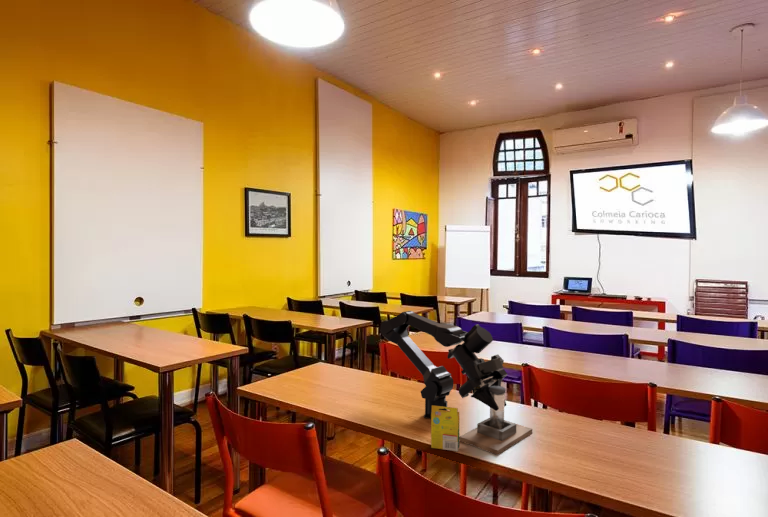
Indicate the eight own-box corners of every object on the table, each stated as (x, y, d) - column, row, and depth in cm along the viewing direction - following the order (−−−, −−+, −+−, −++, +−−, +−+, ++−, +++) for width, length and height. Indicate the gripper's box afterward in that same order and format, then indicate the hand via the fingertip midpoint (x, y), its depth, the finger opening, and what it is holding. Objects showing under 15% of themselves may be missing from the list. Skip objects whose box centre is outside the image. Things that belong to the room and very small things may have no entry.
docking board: (459, 440, 125) (459, 427, 124) (495, 421, 139) (496, 409, 139) (497, 454, 116) (497, 441, 116) (532, 432, 130) (532, 420, 130)
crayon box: (459, 447, 120) (460, 404, 120) (457, 452, 118) (458, 408, 117) (432, 443, 123) (433, 401, 122) (430, 448, 120) (431, 405, 120)
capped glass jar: (488, 431, 126) (489, 389, 126) (489, 425, 130) (489, 385, 130) (504, 433, 125) (505, 391, 125) (504, 427, 129) (505, 386, 129)
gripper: (468, 351, 123) (503, 401, 116) (502, 342, 136) (535, 385, 129) (444, 373, 129) (476, 422, 121) (479, 362, 142) (510, 405, 135)
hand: (501, 408), depth 126 cm, fingers closed on capped glass jar, 4 cm apart
